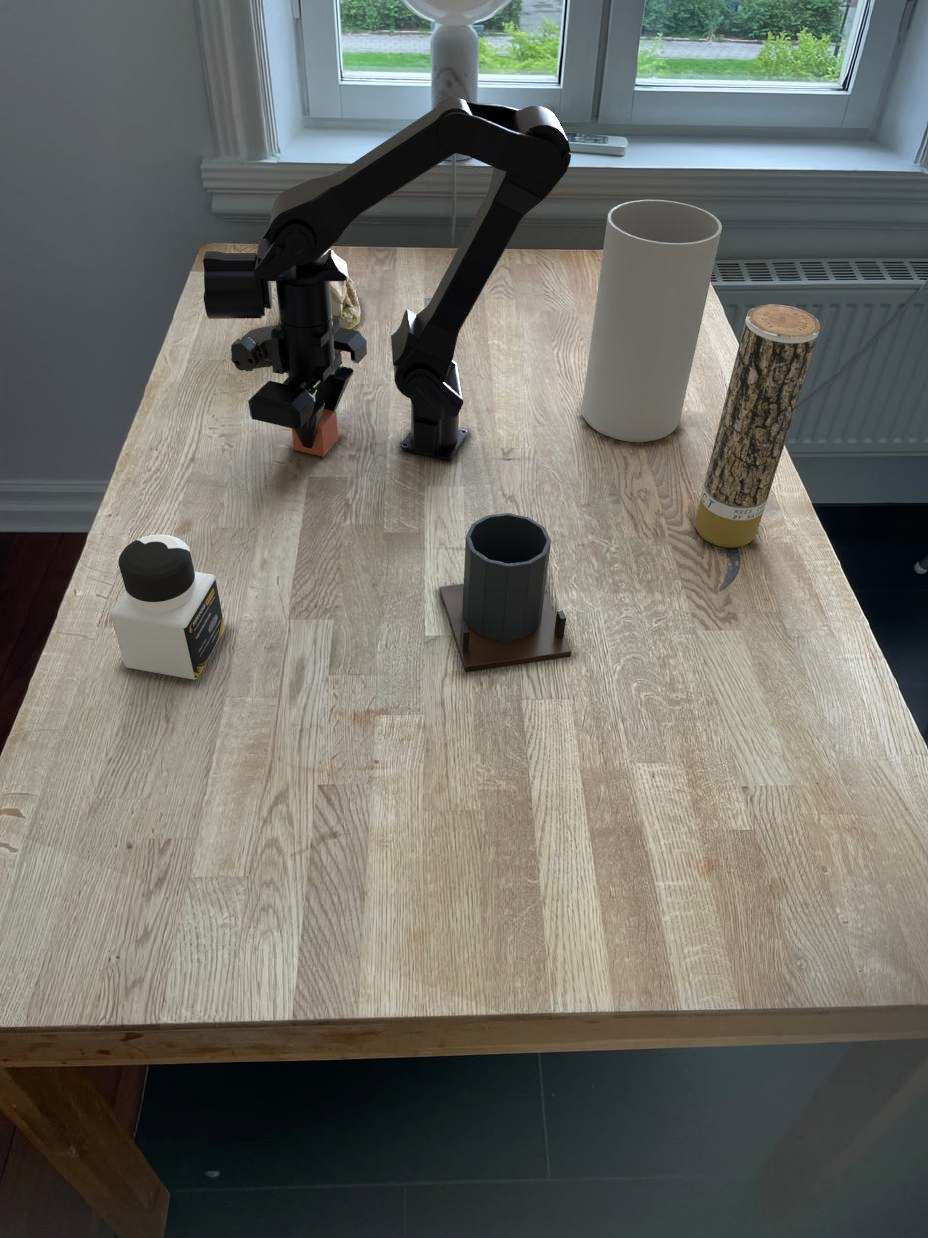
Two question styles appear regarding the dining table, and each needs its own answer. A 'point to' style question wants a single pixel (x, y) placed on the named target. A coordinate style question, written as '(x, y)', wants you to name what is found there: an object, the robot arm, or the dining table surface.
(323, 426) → the block
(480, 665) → the brown pegged stand
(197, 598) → the medicine bottle
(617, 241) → the cylinder vase
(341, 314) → the ceramic model
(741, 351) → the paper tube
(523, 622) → the bin
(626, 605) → the dining table surface
